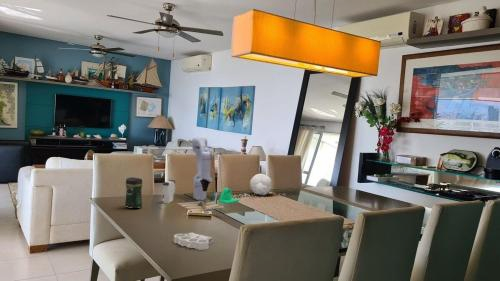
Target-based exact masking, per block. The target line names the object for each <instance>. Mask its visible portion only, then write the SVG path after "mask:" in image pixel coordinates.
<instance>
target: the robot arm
mask: <svg viewBox="0 0 500 281" xmlns="http://www.w3.org/2000/svg"><path fill="white" fill-rule="evenodd" d="M191 141H192V142H191V144H192V151H193V152H194V153H195V160H196V172H197V173H196V174H195V175H194V176H193V183H192V184H193V192H192V199H195V200H196V201H203V199H204V198H207V191H208V188H209V185H210V184H211V183H212V182H213V178H212V177H211V161H212V159H213V156H212V155H213V154H212V151H210V150H209V148H208V138H207V137H205V138H204V137H201V138H199V137H193V138H192V140H191Z"/></svg>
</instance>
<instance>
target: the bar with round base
mask: <svg viewBox="0 0 500 281" xmlns="http://www.w3.org/2000/svg"><path fill="white" fill-rule="evenodd" d="M200 201H201V202H200V203H198V205H199V206H202V207H203V208H206V203H204V202H203V200H200Z"/></svg>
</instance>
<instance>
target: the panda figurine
mask: <svg viewBox="0 0 500 281" xmlns="http://www.w3.org/2000/svg"><path fill="white" fill-rule="evenodd" d="M175 184H176V180H174V179H169V180H166V181H163V182H162V185H163V186H162V194H163V195H162V199H163V204H170V203H172V202H174V195H175V192H176V185H175Z"/></svg>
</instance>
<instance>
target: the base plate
mask: <svg viewBox="0 0 500 281" xmlns="http://www.w3.org/2000/svg"><path fill="white" fill-rule="evenodd" d="M201 201H203V202H204V203H206V208H203V207H202V206H199V205H198V203H200V202H201ZM176 204H177V205H178V206H181V207H184V208H185V209H188V210H189V211H192V212H194V211H204V210H211V209H221V208H223V206H222V205H220V204H218V203H215V202H213V201H211V200H210V199H209V198H207V197H206V198H204V199H203V200H197V201H189V202H187V201H186V202H181V203H180V202H178V203H176Z"/></svg>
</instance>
